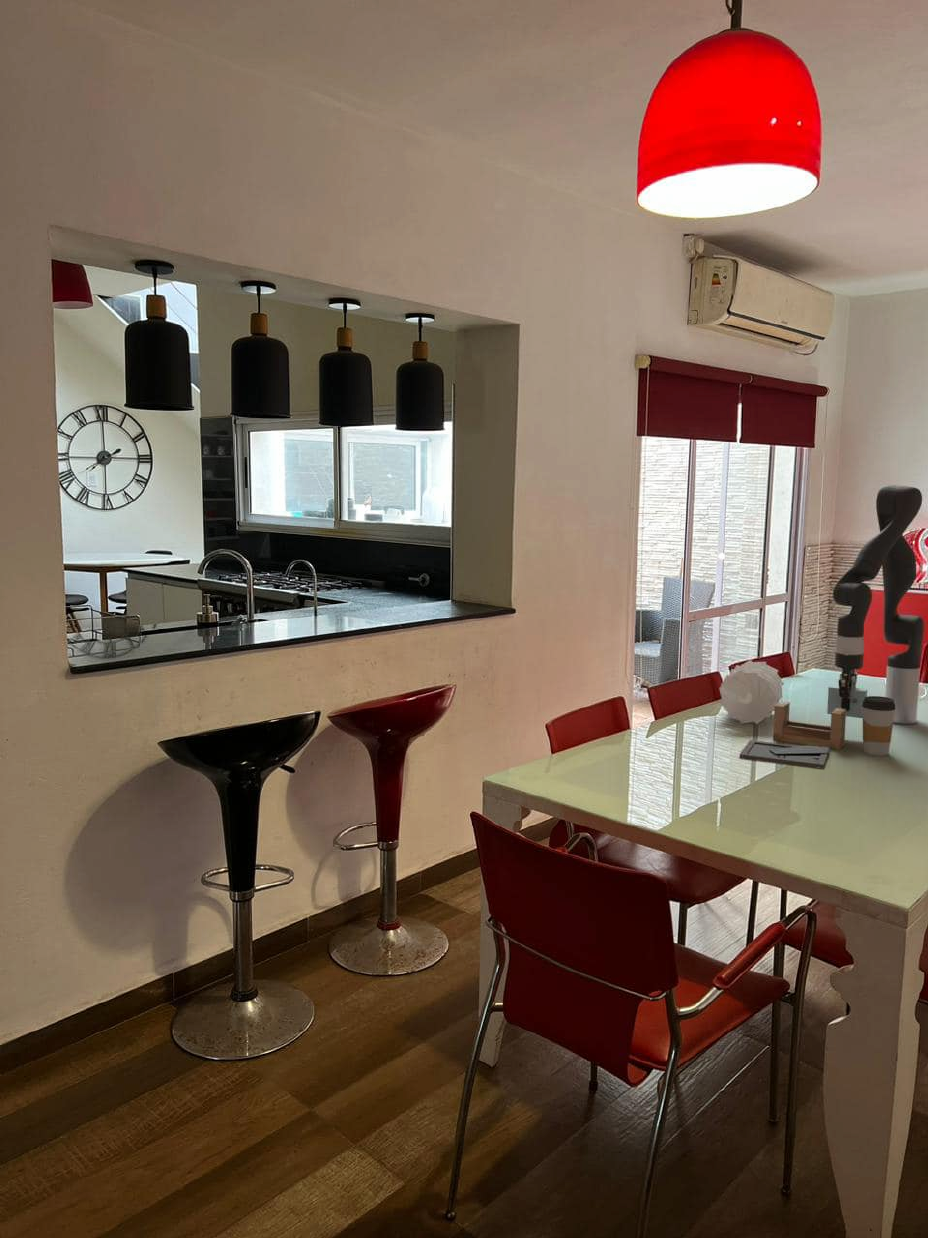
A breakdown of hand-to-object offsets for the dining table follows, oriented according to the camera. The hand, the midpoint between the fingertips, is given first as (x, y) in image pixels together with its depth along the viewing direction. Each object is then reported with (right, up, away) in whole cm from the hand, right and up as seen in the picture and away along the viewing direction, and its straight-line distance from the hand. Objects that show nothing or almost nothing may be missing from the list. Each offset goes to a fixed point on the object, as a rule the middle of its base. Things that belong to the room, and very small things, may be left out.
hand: (846, 709), depth 263 cm
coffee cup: (+1, -11, -15) cm, 19 cm away
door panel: (0, -2, 0) cm, 2 cm away
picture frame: (-24, -12, -18) cm, 32 cm away
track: (-13, -9, -4) cm, 16 cm away
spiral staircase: (-21, -5, +24) cm, 32 cm away
